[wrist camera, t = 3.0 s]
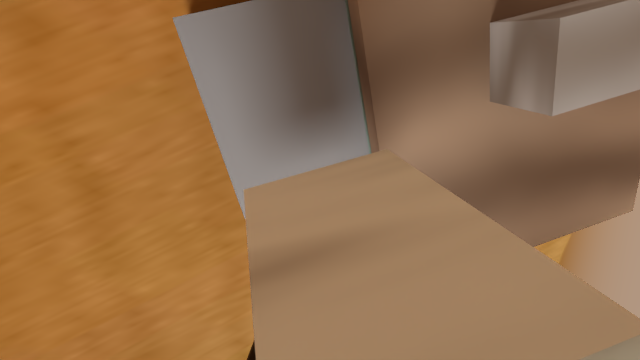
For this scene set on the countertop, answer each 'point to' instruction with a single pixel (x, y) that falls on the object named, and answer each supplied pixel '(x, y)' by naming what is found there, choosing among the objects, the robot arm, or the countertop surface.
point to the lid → (509, 103)
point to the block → (410, 276)
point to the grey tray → (278, 86)
